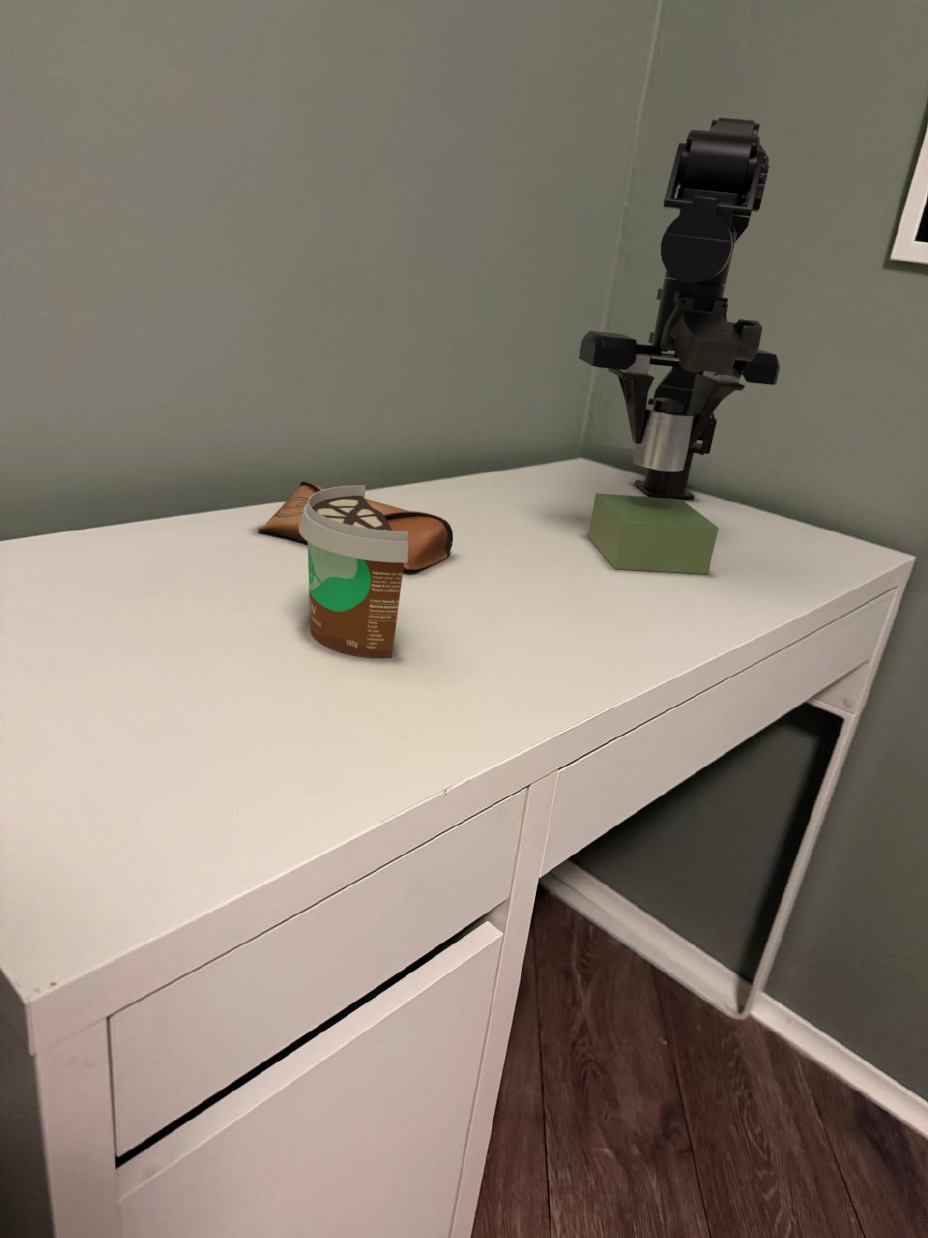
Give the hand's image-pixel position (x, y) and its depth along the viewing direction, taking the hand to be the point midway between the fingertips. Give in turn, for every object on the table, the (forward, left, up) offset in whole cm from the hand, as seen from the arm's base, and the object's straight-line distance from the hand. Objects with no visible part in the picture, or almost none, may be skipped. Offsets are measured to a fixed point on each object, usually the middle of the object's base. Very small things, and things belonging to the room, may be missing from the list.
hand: (661, 445), depth 90 cm
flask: (0, 0, -2) cm, 2 cm away
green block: (0, 0, -12) cm, 12 cm away
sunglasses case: (+2, -31, -12) cm, 33 cm away
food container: (+23, -33, -12) cm, 42 cm away
